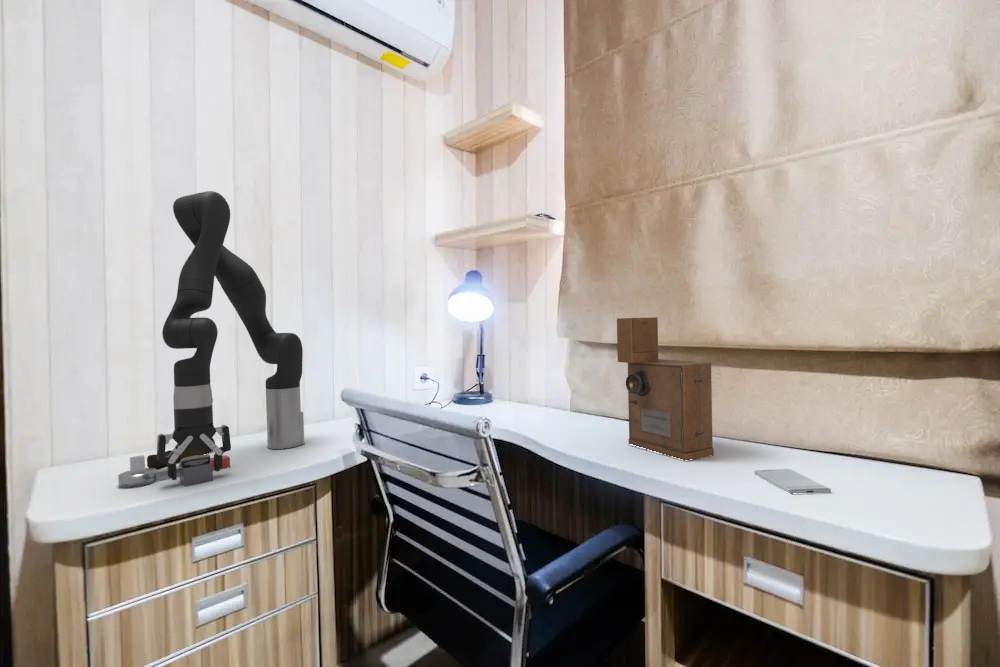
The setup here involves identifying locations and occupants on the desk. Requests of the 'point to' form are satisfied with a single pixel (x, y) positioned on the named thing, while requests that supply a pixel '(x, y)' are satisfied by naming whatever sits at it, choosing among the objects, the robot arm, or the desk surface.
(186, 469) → the block with domed cap
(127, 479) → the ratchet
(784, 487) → the hard drive
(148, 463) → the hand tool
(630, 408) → the vintage camera
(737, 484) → the desk surface
